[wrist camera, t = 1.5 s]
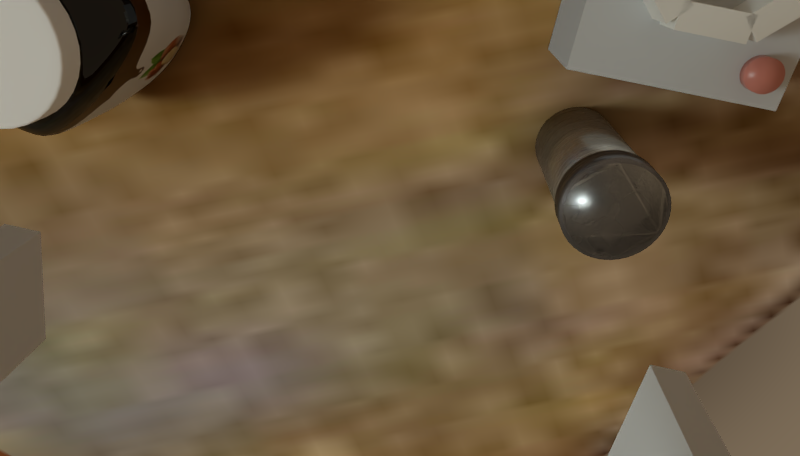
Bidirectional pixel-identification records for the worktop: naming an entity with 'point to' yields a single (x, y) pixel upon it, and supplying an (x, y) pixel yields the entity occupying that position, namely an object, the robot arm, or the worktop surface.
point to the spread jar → (81, 57)
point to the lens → (600, 186)
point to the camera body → (685, 45)
